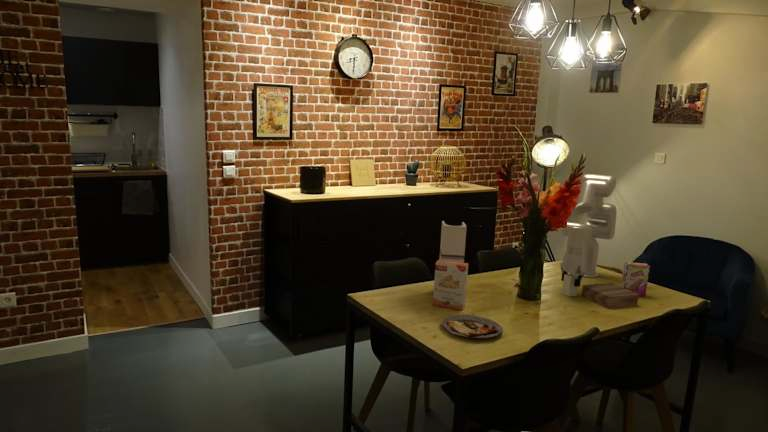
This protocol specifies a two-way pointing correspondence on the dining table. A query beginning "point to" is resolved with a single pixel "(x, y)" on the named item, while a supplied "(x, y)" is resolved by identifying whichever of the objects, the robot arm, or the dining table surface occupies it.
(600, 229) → the robot arm
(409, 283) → the dining table surface
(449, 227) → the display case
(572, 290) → the sage block
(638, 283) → the candy bar box
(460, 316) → the food plate
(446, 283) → the cracker box
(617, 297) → the walnut block
